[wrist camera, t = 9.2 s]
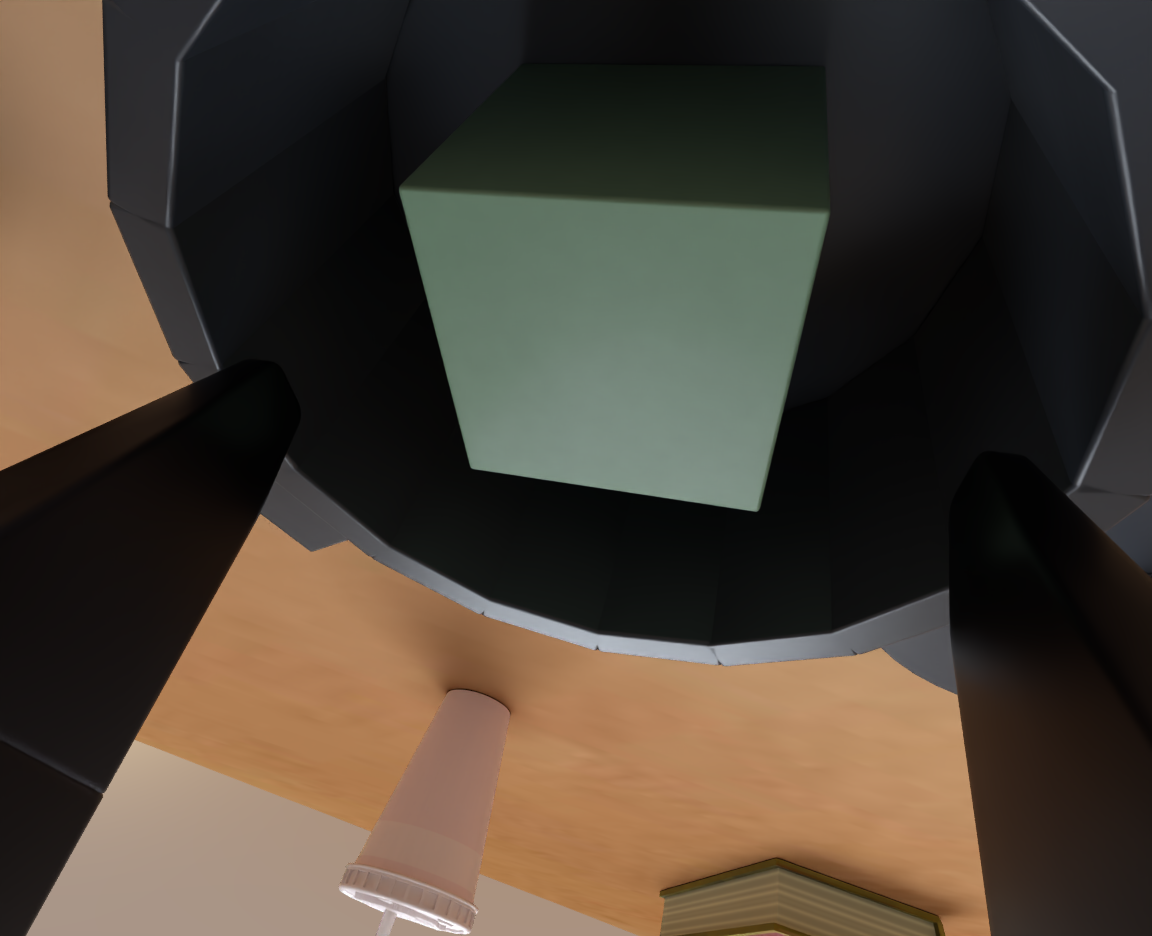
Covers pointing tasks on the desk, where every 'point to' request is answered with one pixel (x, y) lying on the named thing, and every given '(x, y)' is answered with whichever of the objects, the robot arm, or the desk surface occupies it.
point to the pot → (830, 333)
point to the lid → (1140, 535)
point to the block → (627, 271)
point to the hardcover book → (786, 906)
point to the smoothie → (436, 821)
